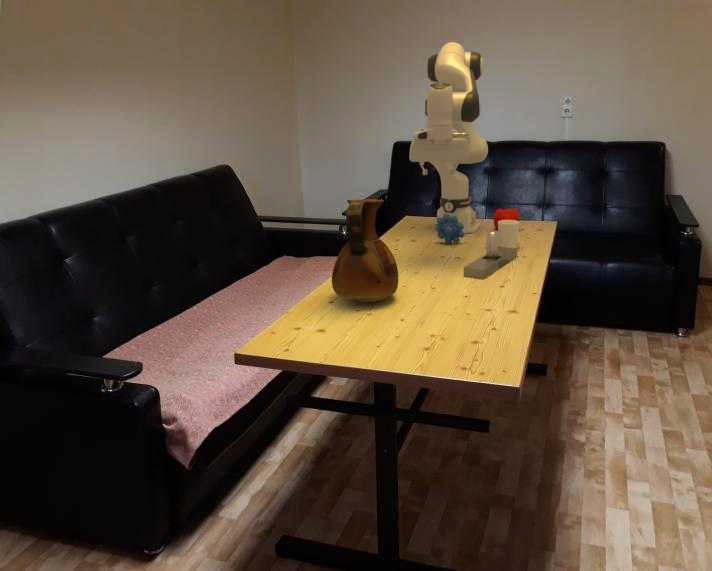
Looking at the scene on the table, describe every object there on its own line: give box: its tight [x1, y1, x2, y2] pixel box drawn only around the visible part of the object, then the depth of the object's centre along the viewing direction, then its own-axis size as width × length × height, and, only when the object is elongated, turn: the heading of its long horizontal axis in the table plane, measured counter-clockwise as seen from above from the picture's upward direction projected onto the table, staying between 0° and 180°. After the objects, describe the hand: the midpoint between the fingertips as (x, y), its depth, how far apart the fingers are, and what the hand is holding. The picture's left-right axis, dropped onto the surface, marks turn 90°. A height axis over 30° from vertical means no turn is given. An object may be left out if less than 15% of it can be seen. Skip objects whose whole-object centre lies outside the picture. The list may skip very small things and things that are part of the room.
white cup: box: [497, 220, 520, 249], centre depth 259 cm, size 8×8×10 cm
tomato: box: [492, 208, 521, 230], centre depth 288 cm, size 11×12×9 cm
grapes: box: [433, 213, 465, 245], centre depth 265 cm, size 12×7×12 cm, turn 79°
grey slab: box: [463, 247, 518, 280], centre depth 236 cm, size 32×7×3 cm, turn 148°
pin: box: [485, 230, 499, 260], centre depth 235 cm, size 4×4×12 cm
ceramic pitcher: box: [331, 198, 399, 303], centre depth 201 cm, size 20×20×30 cm
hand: (438, 174), depth 234 cm, fingers open, 8 cm apart
